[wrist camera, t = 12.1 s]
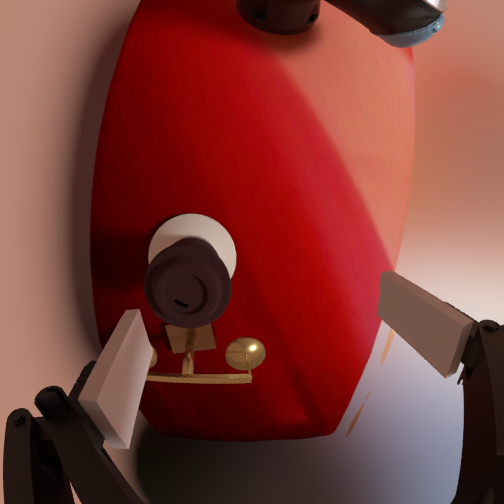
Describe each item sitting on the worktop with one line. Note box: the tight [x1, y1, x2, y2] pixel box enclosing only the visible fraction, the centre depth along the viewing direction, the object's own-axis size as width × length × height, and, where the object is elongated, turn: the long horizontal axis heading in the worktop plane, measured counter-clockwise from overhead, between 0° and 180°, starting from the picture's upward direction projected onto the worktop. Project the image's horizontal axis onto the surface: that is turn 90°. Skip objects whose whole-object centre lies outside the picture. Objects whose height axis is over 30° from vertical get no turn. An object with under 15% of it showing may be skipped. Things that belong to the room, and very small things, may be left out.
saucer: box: [148, 214, 236, 279], centre depth 42 cm, size 14×14×1 cm
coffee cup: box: [143, 236, 231, 328], centre depth 35 cm, size 10×10×15 cm
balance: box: [146, 322, 265, 383], centre depth 39 cm, size 6×24×15 cm, turn 97°
